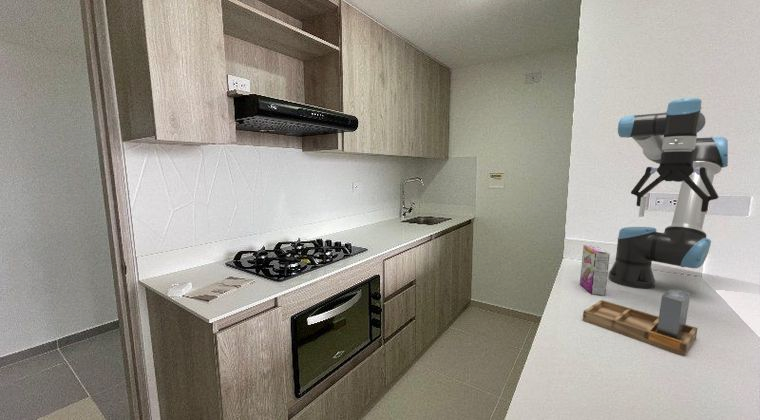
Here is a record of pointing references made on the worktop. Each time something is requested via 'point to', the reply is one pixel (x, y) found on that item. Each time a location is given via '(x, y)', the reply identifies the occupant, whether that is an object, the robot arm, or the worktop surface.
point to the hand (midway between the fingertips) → (668, 219)
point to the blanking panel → (673, 313)
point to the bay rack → (637, 326)
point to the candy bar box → (594, 269)
